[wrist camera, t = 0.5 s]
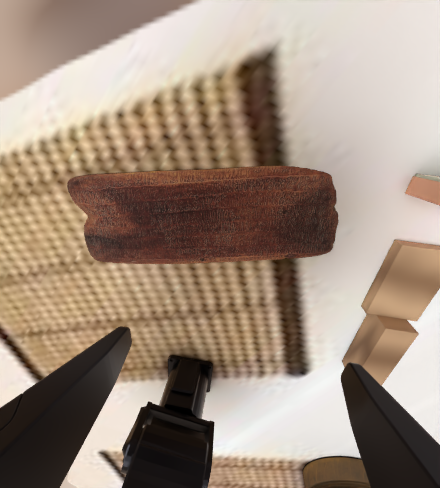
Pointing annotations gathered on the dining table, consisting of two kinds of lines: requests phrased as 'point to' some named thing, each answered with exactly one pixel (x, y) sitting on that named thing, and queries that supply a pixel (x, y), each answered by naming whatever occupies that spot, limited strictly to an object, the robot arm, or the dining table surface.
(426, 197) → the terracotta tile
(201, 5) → the dining table surface
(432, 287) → the tan paddle
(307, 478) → the wooden container
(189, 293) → the dining table surface
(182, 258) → the wooden tablet
